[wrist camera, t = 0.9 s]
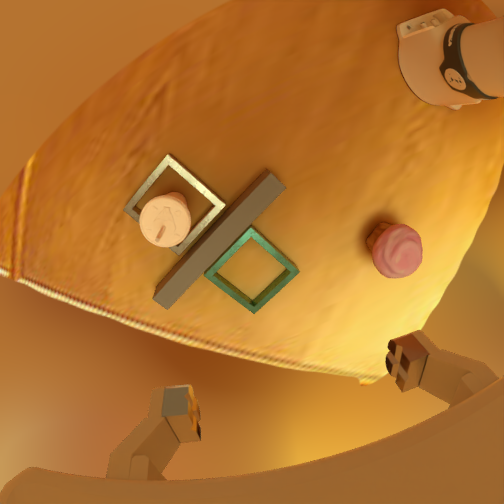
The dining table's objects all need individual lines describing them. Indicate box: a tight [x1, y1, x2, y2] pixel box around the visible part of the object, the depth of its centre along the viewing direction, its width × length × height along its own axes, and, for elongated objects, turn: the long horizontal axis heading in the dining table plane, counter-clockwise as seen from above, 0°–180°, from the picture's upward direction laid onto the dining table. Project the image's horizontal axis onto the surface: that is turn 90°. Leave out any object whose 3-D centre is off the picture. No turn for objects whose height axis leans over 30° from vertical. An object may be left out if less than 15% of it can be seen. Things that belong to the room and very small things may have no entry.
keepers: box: [123, 154, 300, 314], centre depth 46 cm, size 10×27×2 cm, turn 46°
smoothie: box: [139, 192, 191, 247], centre depth 38 cm, size 6×6×14 cm
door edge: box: [153, 169, 286, 310], centre depth 45 cm, size 26×3×4 cm, turn 136°
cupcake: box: [366, 222, 422, 278], centre depth 46 cm, size 9×9×10 cm
